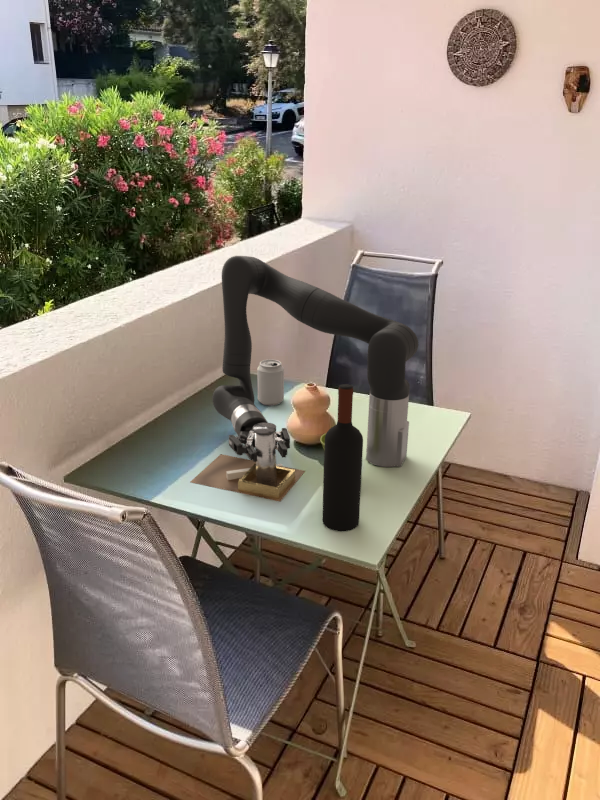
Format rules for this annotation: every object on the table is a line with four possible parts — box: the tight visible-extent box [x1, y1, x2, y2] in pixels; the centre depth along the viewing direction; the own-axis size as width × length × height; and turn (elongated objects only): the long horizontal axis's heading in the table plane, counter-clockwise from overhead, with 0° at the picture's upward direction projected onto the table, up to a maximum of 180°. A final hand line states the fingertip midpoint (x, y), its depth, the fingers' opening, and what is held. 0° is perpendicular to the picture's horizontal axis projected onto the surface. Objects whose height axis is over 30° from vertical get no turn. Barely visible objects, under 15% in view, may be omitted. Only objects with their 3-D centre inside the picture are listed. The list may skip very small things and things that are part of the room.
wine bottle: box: [321, 383, 364, 533], centre depth 144 cm, size 8×8×30 cm
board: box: [189, 454, 306, 503], centre depth 165 cm, size 22×15×1 cm
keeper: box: [238, 463, 295, 499], centre depth 161 cm, size 10×10×2 cm
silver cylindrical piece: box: [253, 422, 277, 487], centre depth 159 cm, size 5×5×14 cm
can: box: [256, 358, 285, 407], centre depth 206 cm, size 8×8×12 cm
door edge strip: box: [226, 463, 284, 480], centre depth 165 cm, size 1×13×2 cm, turn 108°
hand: (270, 455), depth 156 cm, fingers open, 6 cm apart
